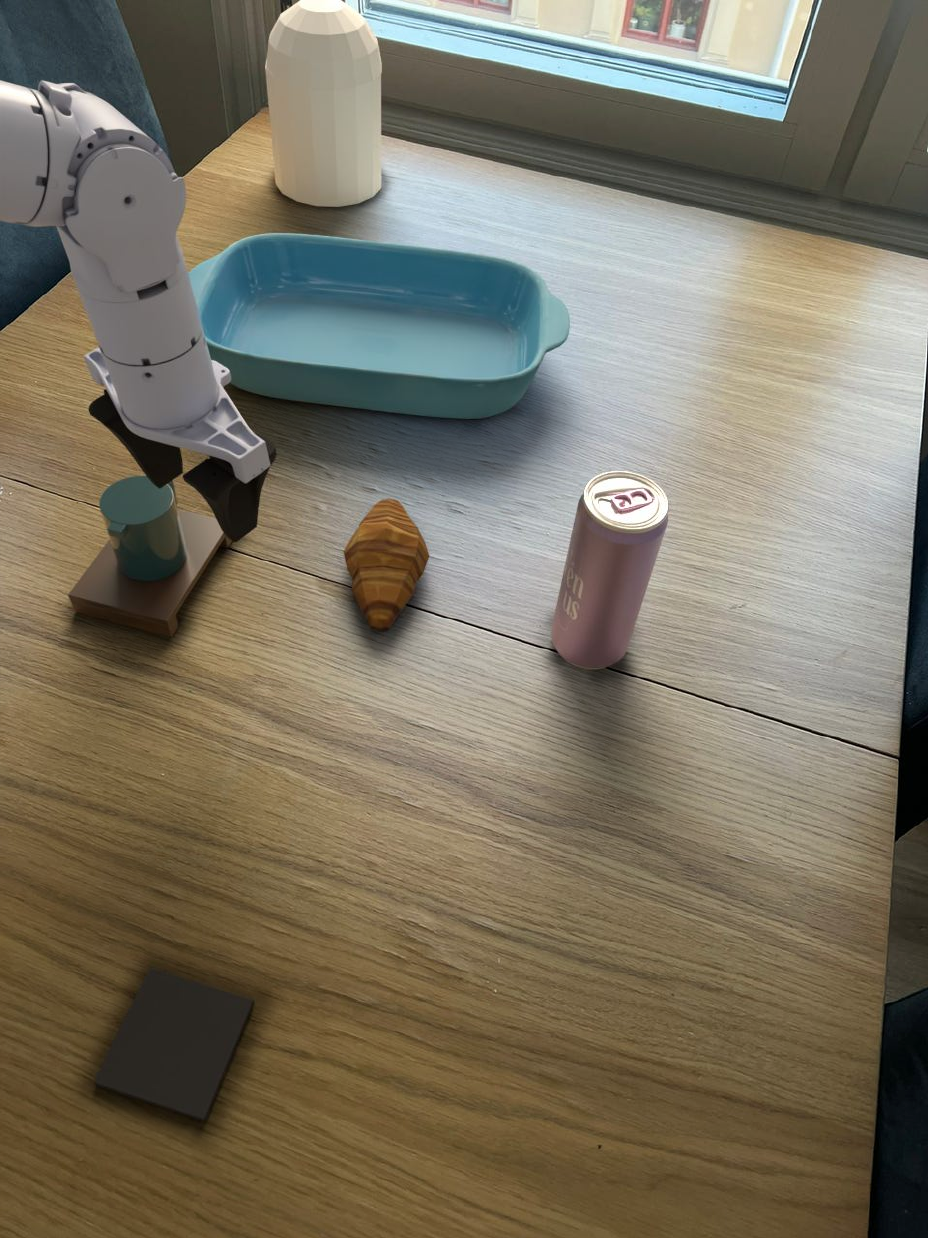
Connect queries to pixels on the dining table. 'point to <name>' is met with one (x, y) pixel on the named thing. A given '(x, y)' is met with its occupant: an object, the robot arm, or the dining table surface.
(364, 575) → the croissant
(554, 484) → the dining table surface
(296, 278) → the casserole dish
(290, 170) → the container
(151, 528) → the teal tabbed cylinder
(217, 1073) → the coaster
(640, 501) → the beverage can
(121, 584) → the plate
